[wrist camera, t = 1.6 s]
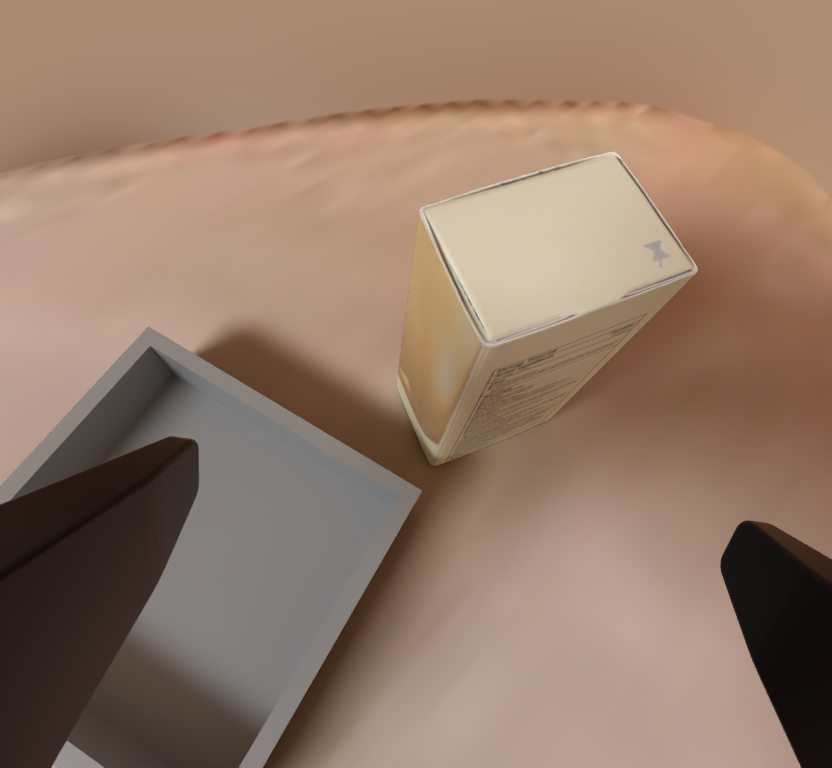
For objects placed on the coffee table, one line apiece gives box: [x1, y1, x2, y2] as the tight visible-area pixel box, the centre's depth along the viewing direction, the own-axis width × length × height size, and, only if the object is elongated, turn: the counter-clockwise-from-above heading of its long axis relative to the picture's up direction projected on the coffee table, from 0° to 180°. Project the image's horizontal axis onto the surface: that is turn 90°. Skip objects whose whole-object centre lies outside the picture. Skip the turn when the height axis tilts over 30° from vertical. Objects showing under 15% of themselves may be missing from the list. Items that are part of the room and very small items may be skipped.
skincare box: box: [397, 152, 698, 466], centre depth 19 cm, size 6×4×12 cm
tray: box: [0, 327, 422, 768], centre depth 19 cm, size 12×12×4 cm
